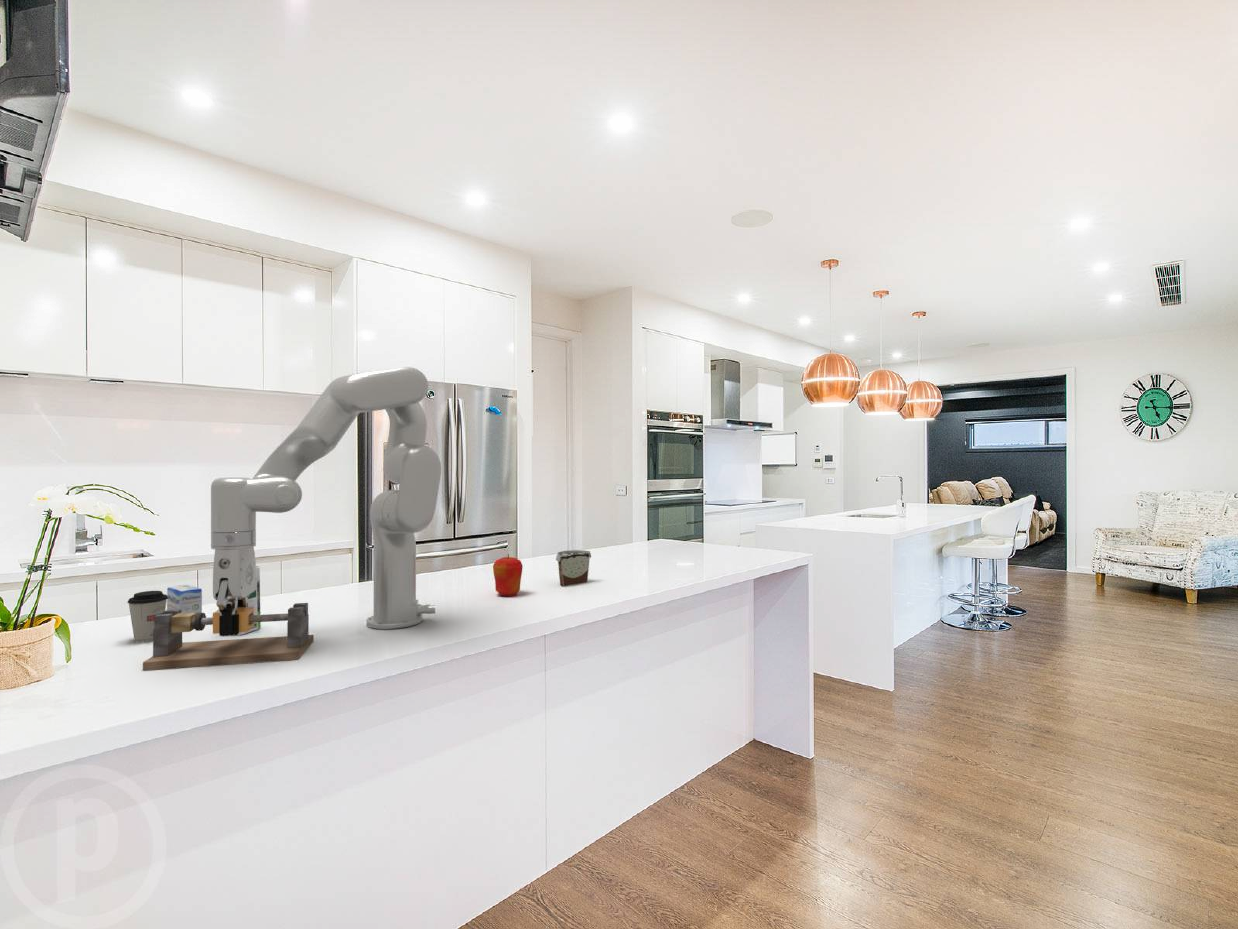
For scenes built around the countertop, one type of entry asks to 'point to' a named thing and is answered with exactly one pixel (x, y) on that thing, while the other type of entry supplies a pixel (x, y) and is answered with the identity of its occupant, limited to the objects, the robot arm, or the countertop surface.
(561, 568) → the food container
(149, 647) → the countertop surface
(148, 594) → the black-capped travel mug
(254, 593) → the syrup box
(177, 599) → the medicine box
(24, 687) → the countertop surface
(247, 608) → the sleeve
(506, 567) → the apple
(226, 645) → the rail
